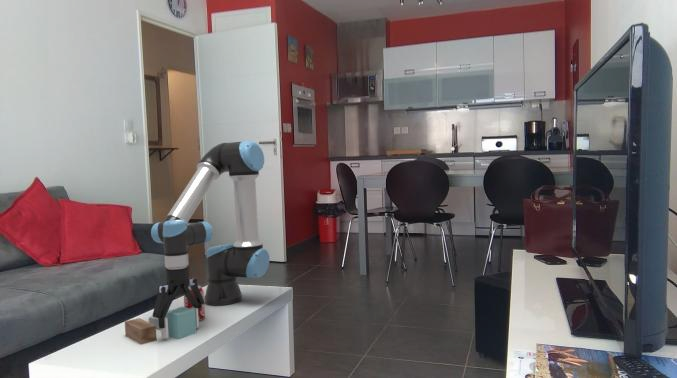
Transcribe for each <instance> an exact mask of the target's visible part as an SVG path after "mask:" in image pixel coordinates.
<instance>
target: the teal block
mask: <svg viewBox="0 0 677 378" xmlns="http://www.w3.org/2000/svg"><path fill="white" fill-rule="evenodd" d="M165 317H166V318H168V336H169V338H172V339H176V340H180V339H183V338H186V337H188V336H191V335H195V334H197V328H196V320H195V309H190V308H185V307H184V306H180V307H177V308H173V309H169V310H168V312H167V314H166V316H165Z"/></svg>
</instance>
